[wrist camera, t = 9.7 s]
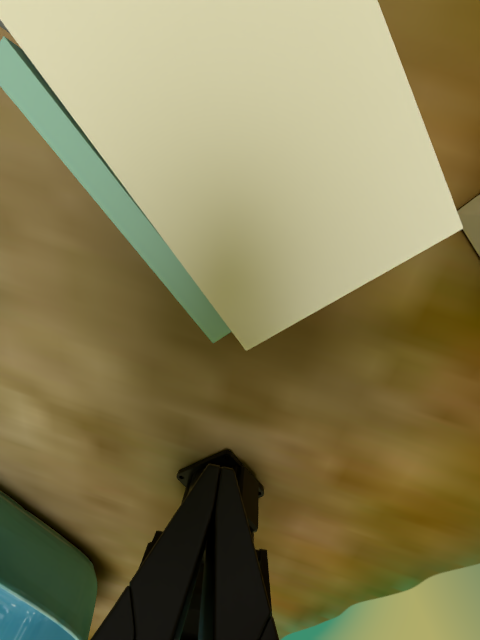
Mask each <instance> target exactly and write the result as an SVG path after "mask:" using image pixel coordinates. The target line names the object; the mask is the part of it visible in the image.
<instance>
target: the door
mask: <svg viewBox="0 0 480 640" xmlns="http://www.w3.org/2000/svg"><path fill="white" fill-rule="evenodd" d="M0 86H1V87H2V89H3V90H4V91H5V92H6V93H7V95H8V96H9V97H10V98H11V100H12V101H13V102H14V103H15V104H16V106H17V107H18V108H19V109H20V110H21V112H22V113H23V114H24V115H25V116H26V118H27V119H28V120H29V121H30V123H31V124H32V125H33V126H34V127H35V129H36V130H37V131H38V132H39V133H40V135H41V136H42V137H43V138H44V139H45V141H46V142H47V143H48V144H49V146H50V147H51V148H52V149H53V150H54V152H55V153H56V154H57V155H58V156H59V158H60V159H61V160H62V161H63V162H64V164H65V165H66V166H67V167H68V169H69V170H70V171H71V172H72V173H73V175H74V176H75V177H76V178H77V179H78V181H79V182H80V183H81V184H82V185H83V187H84V188H85V189H86V190H87V192H88V193H89V194H90V195H91V196H92V198H93V199H94V200H95V201H96V202H97V204H98V205H99V206H100V207H101V208H102V210H103V211H104V212H105V213H106V215H107V216H108V217H109V218H110V219H111V221H112V222H113V223H114V224H115V225H116V227H117V228H118V229H119V230H120V231H121V233H122V234H123V235H124V236H125V238H126V239H127V240H128V241H129V242H130V244H131V245H132V246H133V247H134V248H135V250H136V251H137V252H138V253H139V255H140V256H141V257H142V258H143V259H144V261H145V262H146V263H147V264H148V265H149V267H150V268H151V269H152V270H153V271H154V273H155V274H156V275H157V276H158V278H159V279H160V280H161V281H162V282H163V284H164V285H165V286H166V287H167V288H168V290H169V291H170V292H171V293H172V294H173V296H174V297H175V298H176V299H177V301H178V302H179V303H180V304H181V305H182V307H183V308H184V309H185V310H186V311H187V313H188V314H189V315H190V316H191V317H192V319H193V320H194V321H195V322H196V324H197V325H198V326H199V327H200V328H201V330H202V331H203V332H204V333H205V334H206V336H207V337H208V338H209V339H210V340H211V342H212V343H215V342H216V341H218V340H219V339H221V338H222V337H224V336H226V335H227V334H229V333H230V332H232V331H231V330H230V329H229V327H228V326H227V325H226V323H225V322H224V321H223V319H222V318H221V317H220V315H219V314H218V312H217V311H216V310H215V308H214V307H213V306H212V304H211V303H210V302H209V300H208V299H207V298H206V296H205V295H204V294H203V292H202V291H201V290H200V288H199V287H198V286H197V284H196V283H195V281H194V280H193V279H192V277H191V276H190V275H189V273H188V272H187V271H186V269H185V268H184V267H183V265H182V264H181V263H180V261H179V260H178V259H177V257H176V256H175V255H174V253H173V252H172V250H171V249H170V248H169V246H168V245H167V244H166V242H165V241H164V240H163V238H162V237H161V236H160V234H159V233H158V232H157V230H156V229H155V228H154V226H153V225H152V224H151V222H150V221H149V219H148V218H147V217H146V215H145V214H144V213H143V211H142V210H141V209H140V207H139V206H138V205H137V203H136V202H135V201H134V199H133V198H132V197H131V195H130V194H129V193H128V191H127V190H126V188H125V187H124V186H123V184H122V183H121V182H120V180H119V179H118V178H117V176H116V175H115V174H114V172H113V171H112V170H111V168H110V167H109V166H108V164H107V163H106V161H105V160H104V159H103V157H102V156H101V155H100V153H99V152H98V151H97V149H96V148H95V147H94V145H93V144H92V143H91V141H90V140H89V139H88V137H87V136H86V135H85V133H84V132H83V130H82V129H81V128H80V126H79V125H78V124H77V122H76V121H75V120H74V118H73V117H72V116H71V114H70V113H69V112H68V110H67V109H66V108H65V106H64V105H63V104H62V102H61V101H60V99H59V98H58V97H57V95H56V94H55V93H54V91H53V90H52V89H51V87H50V86H49V85H48V83H47V82H46V81H45V79H44V78H43V77H42V75H41V74H40V73H39V71H38V70H37V68H36V67H35V66H34V64H33V63H32V62H31V60H30V59H29V58H28V56H27V55H26V54H25V52H24V51H23V50H22V49H21V48H19V47H18V46H17V45H15V44H14V43H12V42H11V41H10V40H8V39H7V38H6V37H3V38H2V40H1V41H0Z"/></svg>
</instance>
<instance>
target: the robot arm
mask: <svg viewBox="0 0 480 640" xmlns="http://www.w3.org/2000/svg"><path fill="white" fill-rule="evenodd" d="M177 479H178V480H179V481H180V482H181V483H182V484H183V485H184V486H185V487H186V489H185V493H184V496H183V500H182V503H181V506H180V507H179V509H178V510H177V512H176V513H175V515H174V516H173V518H172V519H171V521H170V522H169V524H168V525H167V527H166V528H165V530H164V531H163V532H162V531H156V533H155V536H154V538H153V540H152V542H150V543H148V545H147V548H146V551H145V553H144V556H143V559H142V562H141V564H140V567H139V569H138V571H137V572H136V574H135V575H134V577H133V578H132V580H131V581H130V586H127V587H126V589H125V590H124V592H123V593H122V595H121V596H120V598H119V599H118V601H117V602H116V604H115V605H114V607H113V608H112V610H111V611H110V612H109V614H108V615H107V617H106V618H105V620H104V621H103V622H102V624H101V625H100V627H99V628H98V630H97V631H96V633H95V634H94V635H93V637H92V638H91V639H90V640H279V638H278V634H277V630H276V626H275V622H274V619H273V617H272V608H271V596H270V583H269V571H268V559H267V550H264V549H260V550H255V547H254V532H256V531H257V529H258V498H259V497H262V496H263V495H264V489H263V487H262V486H261V485H260V484H259V483H258V481H257V480H256V479H255V478H254V477H253V476H252V475H251V474H250V472H249V471H248V470H247V469H246V468H245V467H244V466H243V465H242V463H241V462H240V461H239V460H238V459H237V458H236V457H235V456H234V454H233V453H232V452H231V451H229V450H225V451H222V452H220V453H218V454H215V455H213V456H211V457H209V458H206V459H204V460H202V461H200V462H198V463H195V464H193V465H191V466H189V467H186V468H184V469H182V470H180V471H178V474H177Z"/></svg>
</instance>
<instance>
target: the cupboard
mask: <svg viewBox="0 0 480 640" xmlns="http://www.w3.org/2000/svg"><path fill="white" fill-rule="evenodd" d="M0 26H1V27H2V28H3V29H5V30H6V31H7V32H9V33H10V34H11V35H12V36H13V37H14V39H15V40H16V42H17V43H18V44H19V46H20V47H21V48H22V50H23V51H24V52H25V54H26V55H27V56H28V58H29V59H30V60H31V62H32V63H33V64H34V66H35V67H36V68H37V70H38V71H39V73H40V74H41V75H42V77H43V78H44V79H45V81H46V82H47V83H48V85H49V86H50V87H51V89H52V90H53V91H54V93H55V94H56V95H57V97H58V98H59V99H60V101H61V102H62V104H63V105H64V106H65V108H66V109H67V110H68V112H69V113H70V114H71V116H72V117H73V118H74V120H75V121H76V122H77V124H78V125H79V126H80V128H81V129H82V130H83V132H84V133H85V135H86V136H87V137H88V139H89V140H90V141H91V143H92V144H93V145H94V147H95V148H96V149H97V151H98V152H99V153H100V155H101V156H102V157H103V159H104V160H105V161H106V163H107V164H108V166H109V167H110V168H111V170H112V171H113V172H114V174H115V175H116V176H117V178H118V179H119V180H120V182H121V183H122V184H123V186H124V187H125V188H126V190H127V191H128V193H129V194H130V195H131V197H132V198H133V199H134V201H135V202H136V203H137V205H138V206H139V207H140V209H141V210H142V211H143V213H144V214H145V215H146V217H147V218H148V219H149V221H150V222H151V224H152V225H153V226H154V228H155V229H156V230H157V232H158V233H159V234H160V236H161V237H162V238H163V240H164V241H165V242H166V244H167V245H168V246H169V248H170V249H171V250H172V252H173V253H174V255H175V256H176V257H177V259H178V260H179V261H180V263H181V264H182V265H183V267H184V268H185V269H186V271H187V272H188V273H189V275H190V276H191V277H192V279H193V280H194V281H195V283H196V284H197V286H198V287H199V288H200V290H201V291H202V292H203V294H204V295H205V296H206V298H207V299H208V300H209V302H210V303H211V304H212V306H213V307H214V308H215V310H216V311H217V312H218V314H219V315H220V317H221V318H222V319H223V321H224V322H225V323H226V325H227V326H228V327H229V329H230V330H231V331H232V333H233V334H234V335H235V337H236V338H237V339H238V341H239V342H240V343H241V345H242V346H243V348H244V349H245V350H246V351H247V350H249V349H251V348H252V347H254V346H256V345H258V344H260V343H261V342H263V341H265V340H267V339H268V338H270V337H272V336H274V335H275V334H277V333H279V332H281V331H283V330H284V329H286V328H288V327H290V326H291V325H293V324H295V323H297V322H298V321H300V320H302V319H304V318H306V317H307V316H309V315H311V314H313V313H314V312H316V311H318V310H320V309H321V308H323V307H325V306H327V305H329V304H330V303H332V302H334V301H336V300H337V299H339V298H341V297H343V296H344V295H346V294H348V293H350V292H352V291H353V290H355V289H357V288H359V287H360V286H362V285H364V284H366V283H367V282H369V281H371V280H373V279H375V278H376V277H378V276H380V275H382V274H383V273H385V272H387V271H389V270H390V269H392V268H394V267H396V266H398V265H399V264H401V263H403V262H405V261H406V260H408V259H410V258H412V257H413V256H415V255H417V254H419V253H421V252H422V251H424V250H426V249H428V248H429V247H431V246H433V245H435V244H436V243H438V242H440V241H442V240H444V239H445V238H447V237H449V236H451V235H452V234H454V233H456V232H458V231H459V230H461V229H463V226H462V223H461V220H460V218H459V215H458V213H457V210H456V207H455V205H454V202H453V199H452V197H451V194H450V191H449V189H448V186H447V183H446V181H445V178H444V175H443V173H442V170H441V167H440V165H439V162H438V160H437V157H436V154H435V152H434V149H433V146H432V144H431V141H430V138H429V136H428V133H427V130H426V128H425V125H424V122H423V120H422V117H421V114H420V112H419V109H418V107H417V104H416V101H415V99H414V96H413V93H412V91H411V88H410V85H409V83H408V80H407V77H406V75H405V72H404V69H403V67H402V64H401V61H400V59H399V56H398V54H397V51H396V48H395V46H394V43H393V40H392V38H391V35H390V32H389V30H388V27H387V24H386V22H385V19H384V16H383V14H382V11H381V8H380V6H379V3H378V1H377V0H0Z"/></svg>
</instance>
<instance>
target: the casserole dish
mask: <svg viewBox="0 0 480 640" xmlns="http://www.w3.org/2000/svg"><path fill="white" fill-rule="evenodd" d="M96 595H97V578H96V574H95V571H94V566H93V564H92V563H91V561H90V560H89V559H88V558H87V557H86V556H85V555H84V554H83V553H82V552H81V551H80V550H79V549H78V548H76V547H75V546H74V545H72V544H71V543H70V542H69V541H67V540H66V539H65V538H64V537H62V536H61V535H60V534H58V533H57V532H56V531H54V530H53V529H52V528H50V527H49V526H48V525H46V524H45V523H44V522H42V521H41V520H40V519H38V518H37V517H35V516H34V515H33V514H31V513H30V512H29V511H26V510H24V509H23V507H22V506H20V505H19V504H18V503H17V502H15V501H14V500H13V499H11V498H10V497H9V496H7V495H6V494H5V493H3V492H2V491H0V640H88V635H89V631H90V626H91V621H92V617H93V612H94V607H95V601H96Z"/></svg>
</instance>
